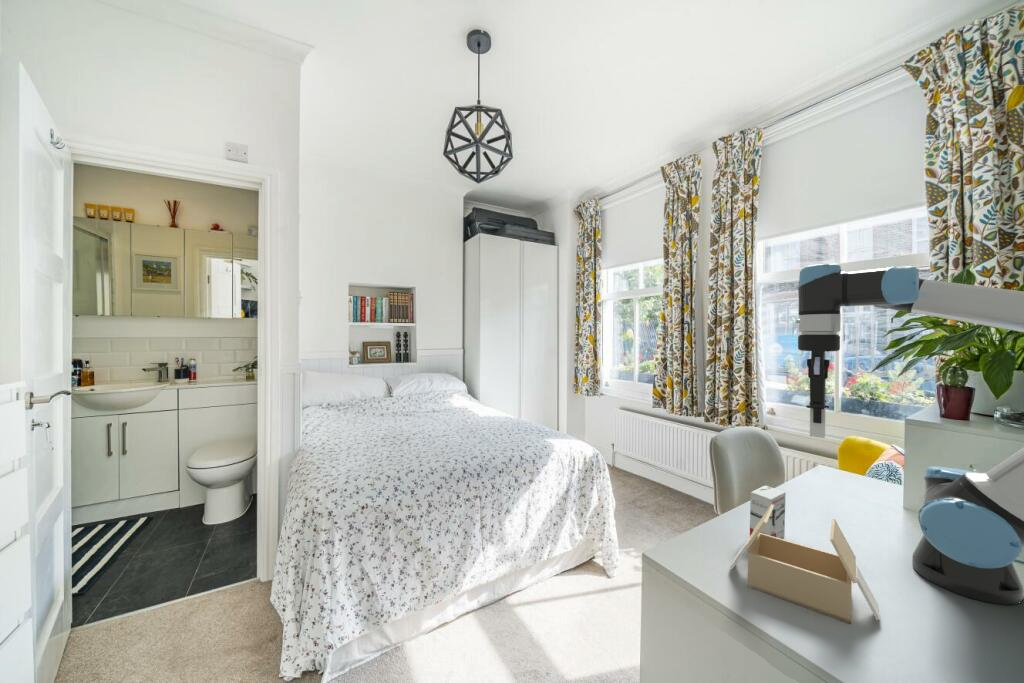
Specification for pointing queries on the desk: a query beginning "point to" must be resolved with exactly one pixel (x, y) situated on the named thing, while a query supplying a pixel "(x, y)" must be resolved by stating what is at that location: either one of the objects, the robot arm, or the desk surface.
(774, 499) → the ink box
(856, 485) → the desk surface
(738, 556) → the far flap
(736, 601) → the desk surface
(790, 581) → the carton
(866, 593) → the near flap
